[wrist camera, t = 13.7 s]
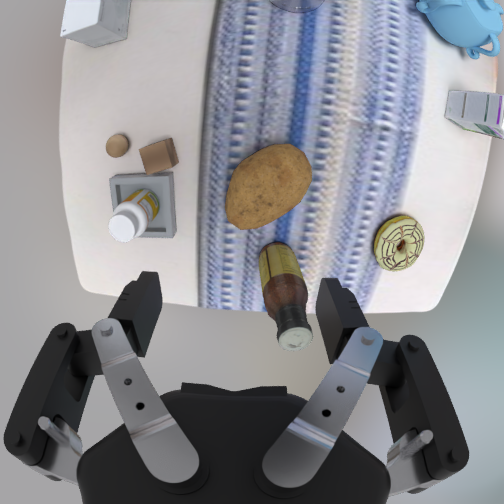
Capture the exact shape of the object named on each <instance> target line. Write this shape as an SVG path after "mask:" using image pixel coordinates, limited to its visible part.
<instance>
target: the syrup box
mask: <svg viewBox="0 0 504 504" xmlns="http://www.w3.org/2000/svg"><path fill="white" fill-rule="evenodd" d="M445 118H447V119H448V120H450V121H451V122H453V123H454V124H456V125H458V126H459V127H461V128H462V129H464V130H468V131H473V132H477V133H481V134H485V135H489V136H493V137H497V138H500V139H504V94H496V93H486V92H471V91H449V95H448V100H447V106H446V112H445Z"/></svg>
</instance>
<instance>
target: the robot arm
mask: <svg viewBox="0 0 504 504" xmlns="http://www.w3.org/2000/svg"><path fill="white" fill-rule="evenodd" d="M323 1H324V0H270V2H272V3H273V4H274V5H275V6H277V7H279V8H281V9H284V10H286V11H291V12H299V13H301V12H308V11H312V10H314V9H316V8H318V7H319V6H320V5H321V4H322V3H323ZM161 308H162V293H161V287H160V281H159V275H158V273H157V272H148V271H142V272H141V274H140V276H139V278H138V279H137V281H131V282H130V283H129V284H128V285H126V286H125V288H124V289H123V291H122V293H121V295H120V296H119V298H118V300H117V302H116V304H115V305H114V307H113V309H112V311H111V313H110V315H109V316H108V318H106V319H102V320H100V321H98V322H97V323H96V324H95V325H94V326H93V328H92V330H86V331H76V329H75V327H74V325H72V324H70V323H61V324H59V325H57V326H55V327H54V328H53V329H52V331H51V332H50V334H49V336H48V338H47V339H46V341H45V343H44V345H43V347H42V349H41V350H40V352H39V354H38V356H37V358H36V360H35V362H34V364H33V366H32V368H31V370H30V372H29V374H28V376H27V378H26V381H25V383H24V385H23V387H22V389H21V392H20V394H19V396H18V399H17V401H16V403H15V406H14V408H13V411H12V413H11V416H10V419H9V422H8V424H7V427H6V430H5V433H4V444H5V446H6V449H7V450H8V451H9V452H10V453H11V454H12V455H14V456H15V457H16V458H18V459H19V460H21V461H22V462H23V463H24V464H25V465H27V466H28V467H30V468H32V469H33V470H35V471H36V472H38V473H40V474H42V475H44V476H46V477H48V478H50V479H51V480H54V481H61V480H64V481H67V482H70V483H72V484H75V485H78V486H79V489H80V492H81V496H82V501H83V504H386V502H387V499H388V497H390V496H394V495H397V494H400V493H404V492H408V493H412V494H416V493H419V492H421V491H423V490H425V489H427V488H429V487H431V486H433V485H435V484H437V483H439V482H441V481H443V480H445V479H446V478H448V477H450V476H452V475H453V474H455V473H457V472H458V471H460V470H461V469H463V468H464V467H465V466H466V464H467V462H468V459H469V450H468V446H467V443H466V440H465V437H464V434H463V431H462V428H461V426H460V423H459V420H458V417H457V415H456V412H455V409H454V407H453V404H452V402H451V399H450V397H449V394H448V392H447V390H446V387H445V385H444V383H443V380H442V378H441V376H440V374H439V372H438V369H437V367H436V365H435V363H434V361H433V358H432V356H431V354H430V352H429V350H428V348H427V346H426V344H425V343H424V341H423V340H422V339H420V338H419V337H417V336H414V335H406V336H403V337H402V338H401V340H400V342H393V341H387V340H384V339H383V338H382V336H381V334H380V333H379V332H378V331H377V330H375V329H373V328H370V327H369V325H368V323H367V321H366V319H365V317H364V314H363V312H362V310H361V308H360V306H359V304H358V303H357V300H356V298H355V296H354V294H353V293H352V292H351V291H350V290H349V289H348V288H342V286H341V284H340V282H339V280H338V278H322V280H321V283H320V288H319V292H318V297H317V301H316V316H317V319H318V322H319V326H320V329H321V333H322V337H323V340H324V344H325V347H326V351H327V355H328V359H329V363H330V364H333V365H332V366H331V368H330V369H329V371H328V373H327V374H326V376H325V377H324V379H323V380H322V382H321V383H320V385H319V386H318V388H317V389H316V391H315V392H314V394H313V395H312V396H311V398H310V399H309V401H307V400H305V399H303V398H301V397H299V396H296V395H293V394H288V393H287V387H286V386H268V387H267V386H264V387H263V386H262V387H256V388H252V389H246V390H241V391H229V390H225V389H221V388H218V387H214V386H211V385H206V384H193V383H182V386H181V390H175V391H171V392H168V393H165V394H163V395H161V396H159V395H158V394H157V392H156V390H155V388H154V387H153V385H152V383H151V381H150V380H149V378H148V376H147V374H146V373H145V371H144V369H143V367H142V365H141V363H140V361H139V359H138V357H145V355H146V352H147V349H148V346H149V343H150V340H151V337H152V334H153V331H154V328H155V326H156V323H157V320H158V317H159V314H160V312H161ZM95 375H104V376H105V379H106V381H107V384H108V386H109V389H110V391H111V394H112V396H113V399H114V401H115V403H116V405H117V408H118V410H119V412H120V414H121V416H122V419H123V421H124V424H122V425H121V426H119V427H118V428H117V429H115V430H114V431H113V432H111V433H110V434H109V435H107V436H106V437H104V438H103V439H102V440H100V441H99V442H98V443H96V444H95V445H94V446H92V447H91V448H89V449H88V450H87V451H86V452H84V454H82V440H81V438H80V437H79V435H78V434H77V432H78V428H79V425H80V421H81V417H82V414H83V411H84V407H85V404H86V401H87V397H88V395H89V392H90V388H91V385H92V383H93V380H94V377H95ZM366 383H368V384H374V385H379V388H380V392H381V395H382V399H383V402H384V406H385V410H386V414H387V418H388V421H389V426H390V430H391V434H392V438H393V443H394V444H393V445H392V446H391V448H390V449H389V451H388V454H387V465H386V466H385V465H384V464H383V463H382V462H381V461H380V460H379V459H378V458H377V457H375V456H374V455H373V454H371V453H370V452H369V451H368V450H366V449H365V448H364V447H362V446H361V445H360V444H359V443H358V442H356V441H355V440H354V439H353V438H351V437H350V436H349V435H348V434H347V433H345V432H344V431H343V430H342V429H343V428H344V426H345V424H346V422H347V421H348V419H349V417H350V415H351V413H352V411H353V409H354V407H355V405H356V404H357V401H358V400H359V398H360V396H361V394H362V392H363V390H364V387H365V385H366Z"/></svg>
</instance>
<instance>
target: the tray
mask: <svg viewBox="0 0 504 504" xmlns="http://www.w3.org/2000/svg"><path fill="white" fill-rule="evenodd" d="M109 181H110V190H111V198H112V206H113V212H114V210H115V208H116V207H117V206H118V205H119V204H120V203H122V202H123V201H124V200H125V199H126V198H128V197H129V196H130V195H131V194H132V193H134V192H135V191H137V190H139V189H148V190H150V191H152V192H153V193H155V194H156V196H157V197H158V199H159V203H160V209H159V212H158V214H157V215H156V217H155V218H154V219H153V221H152V222H151V223H150V225H149V226H148V227H147V229H146V230H145V231H144V232H143V234H141V235H140V236H139V237H149V238H173V237H174V235H175V233H176V218H175V203H174V184H173V172H170V173H152V174H149V175H147V174H146V173H141V174H123V175H115V176H113V177H112V178H110V179H109Z"/></svg>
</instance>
